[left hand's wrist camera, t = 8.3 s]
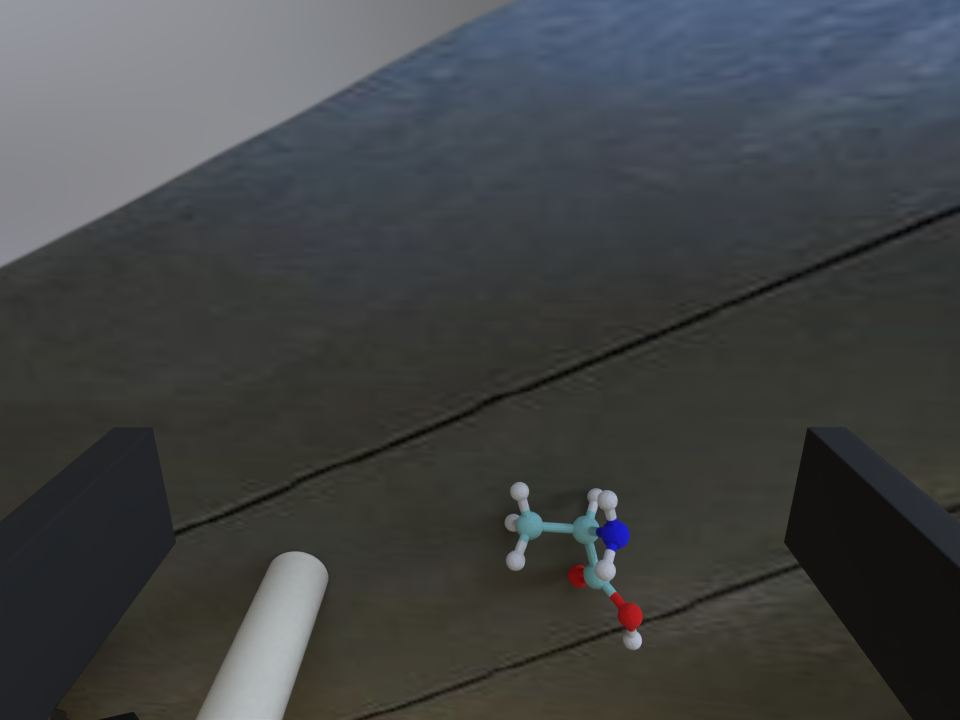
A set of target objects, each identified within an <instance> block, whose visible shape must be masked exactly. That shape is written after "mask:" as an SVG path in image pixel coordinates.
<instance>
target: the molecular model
mask: <svg viewBox="0 0 960 720" xmlns="http://www.w3.org/2000/svg"><path fill="white" fill-rule="evenodd" d="M510 493H511V496H512V497H513V498H514V499H515V500H517V501H518V504H519V508H520V511H521V515H520V516H518V515H516V514H510V515H508V516H507V517H506V519H505V527H506V528H507V529H508V530H509V531H512V532H515V531H517V532H518V534H519V535H520V538H519V540H518V543H517V546H516V548H515V551H512V552H510V553H509V554H508V555H507V558H506V563H507V566H508V567H509V568H510V569H511V570H514V571H518V570H521V569H522V568H523V567H524V564H525V557H524V555H523V554H524V551H525V549H526V546H527V543H528V541H529V540H533V539H536V538H537V537H538V536H540V534H541V533H542V531H546V532H558V533H572V534H573V536H574V538H575V539H576V540H577V541H578V542H580V543H582V544H585V548H586V552H587V556H588V560H589V564H588V565H587V566H586V567H585V566H582V565H574V566H573V567H571V568H570V570H569V572H568V579H569V581H570V583H571V584H572V585H573V586H575V587H578V588H580V587H584V586H586V585H587V584H588V586H590V587H591V588H593V589H603V590H604V591H605V593H606V594H607V595H608V596H609V598H610V599H611V600H612V601H613V603H614V604H615V605H616V606H617V608H618V609H619V610H618V619H619V621H620V623H621V624H622V625H623V626H624V627H626V628H627V632H626V633H625V634H624V636H623V642H624V644H625V646H626V647H627V648H628V649H631V650H636V649H638V648H639V647H640V646H641V643H642V638H641V636H640V634H639V633H638V632H637V631H636V627H638V626H639V625H640V624H641V622H642V618H643V615H642V611H641V609H640V608H639V607H638V606H637V605H635V604H633V603H625V601H624V600H623V599H622V598H621V597H620V595H619V594H618V593H617V592H616V591H615V589H614V588H613V587H612V586H611V585H610V583H609V582H610V580H611V579H613V578H614V576H615V572H616V569H615V566H614V564H613V560H614V556H615V553H616V549H620V548H623V547H624V546H625V545H627V543H628V541H629V537H630V536H629V530H628V528H627V526H626V525H625V524H624V523H622V522H620V521H617V518H616V513H615V509H614V508H615V507H616V505H617V497H616V495H615V494H614V493H613V492H612V491H609V490H604V491H602V490H600V489H598V488H594V489H592V490H590V491H589V492H588V495H587V499H588V501H589V506H588V509H587V512H586V515H585V516H581V517H578V518H577V519H576V520H575V521H574V523H573V524H562V523H549V522H542V519H541V518H540V516H539V515H538V514H536V513H534V512H530V509H529V505H528V502H527V497H528V495H529V489H528V486H527V485H526V484H525V483H522V482H517V483H514V484H513V486H512V487H511V490H510ZM598 506H599V507H600V508H601V509H603V510H604V511H605V515H606V519H607V523H606V524H605V525H604V526H603V528H601V527H599V525H598V523H597V522H596V520H595V519H594V518H595V514H596V511H597V508H598ZM598 537H602V540H603V542H604V543H605V544H606V545H607V547H606V550H605V553H604V557H603V560H600V561H599V562H598V559H597V554H596V550H595V546H594V541H595V540H596V539H597V538H598Z"/></svg>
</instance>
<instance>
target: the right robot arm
mask: <svg viewBox="0 0 960 720" xmlns="http://www.w3.org/2000/svg"><path fill="white" fill-rule="evenodd" d="M47 720H69V719H67V718H66V712H65V711H63V710H59V709H54V711H53V712H52V713H51V715H50V716H49V717H48V719H47ZM100 720H139V719H138V717H137V716H136V714H135V713H134V712H131V713H126V714H122V715H118V716H113V717H109V718H105V719H100Z"/></svg>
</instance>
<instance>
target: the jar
mask: <svg viewBox="0 0 960 720" xmlns="http://www.w3.org/2000/svg"><path fill="white" fill-rule="evenodd" d="M327 585H328V573H327V570H326V568H325V566H324V565H323V564H322V562H321V561H320V560H318V559H317V558H316V557H314V556H312V555H310V554H307V553H304V552H298V551H293V552H286V553H283V554H281V555H279V556H277V557H276V558H275V559H274V560H273V561H272V562H271V563H270V565H269V567H268V569H267V571H266V573H265V575H264V577H263V579H262V581H261V584H260V586H259V588H258V590H257V592H256V594H255V596H254V598H253V600H252V602H251V604H250V606H249V608H248V611H247V613H246V615H245V617H244V619H243V621H242V623H241V625H240V627H239V629H238V631H237V633H236V635H235V638H234V640H233V642H232V644H231V646H230V648H229V650H228V652H227V654H226V656H225V658H224V660H223V663H222V665H221V667H220V669H219V671H218V673H217V675H216V677H215V679H214V681H213V683H212V685H211V687H210V690H209V692H208V694H207V696H206V698H205V700H204V702H203V704H202V706H201V708H200V710H199V712H198V714H197V717H196V719H195V720H283V717H284V714H285V711H286V708H287V705H288V702H289V699H290V696H291V693H292V690H293V687H294V684H295V681H296V678H297V675H298V672H299V669H300V666H301V663H302V660H303V657H304V654H305V651H306V648H307V645H308V642H309V639H310V636H311V633H312V630H313V627H314V624H315V621H316V618H317V615H318V612H319V609H320V606H321V603H322V600H323V597H324V594H325V591H326V588H327Z"/></svg>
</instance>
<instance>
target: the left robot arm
mask: <svg viewBox="0 0 960 720" xmlns="http://www.w3.org/2000/svg"><path fill="white" fill-rule="evenodd" d="M175 543H176V540H175V536H174V531H173V526H172V521H171V516H170V511H169V506H168V501H167V496H166V491H165V487H164V482H163V477H162V472H161V467H160V462H159V457H158V452H157V447H156V443H155V438H154V433H153V428H113V429H112V430H111V431H109V432H108V433H107V434H106V435H105V436H103V437H102V438H101V439H100V440H99V441H97V442H96V443H95V444H94V445H93V446H91V447H90V448H89V449H88V450H87V451H85V452H84V453H83V454H82V455H81V456H79V457H78V458H77V459H76V460H75V461H73V462H72V463H71V464H70V465H68V466H67V467H66V468H65V469H64V470H62V471H61V472H60V473H59V474H58V475H56V476H55V477H54V478H53V479H52V480H50V481H49V482H48V483H47V484H46V485H44V486H43V487H42V488H41V489H40V490H38V491H37V492H36V493H35V494H33V495H32V496H31V497H30V498H29V499H27V500H26V501H25V502H24V503H23V504H21V505H20V506H19V507H18V508H17V509H15V510H14V511H13V512H12V513H11V514H9V515H8V516H7V517H6V518H5V519H3V520H2V521H1V522H0V720H47V719H48V717H49V716H50V715H51V713H52V712H53V711H54V709H55V708H56V706H57V705H58V704H59V702H60V701H61V700H62V698H63V697H64V695H65V694H66V693H67V691H68V690H69V689H70V687H71V686H72V684H73V683H74V682H75V680H76V679H77V678H78V676H79V675H80V673H81V672H82V671H83V669H84V668H85V667H86V665H87V664H88V662H89V661H90V660H91V658H92V657H93V656H94V654H95V653H96V651H97V650H98V649H99V647H100V646H101V645H102V643H103V642H104V640H105V639H106V638H107V636H108V635H109V634H110V632H111V631H112V629H113V628H114V627H115V625H116V624H117V623H118V621H119V620H120V618H121V617H122V616H123V614H124V613H125V612H126V610H127V609H128V607H129V606H130V605H131V603H132V602H133V601H134V599H135V598H136V596H137V595H138V594H139V592H140V591H141V590H142V588H143V587H144V585H145V584H146V583H147V581H148V580H149V579H150V577H151V576H152V574H153V573H154V572H155V570H156V569H157V568H158V566H159V565H160V564H161V562H162V561H163V559H164V558H165V557H166V555H167V554H168V553H169V551H170V550H171V548H172V547H173V546H174V544H175ZM784 543H785V544H786V546H787V547H788V548H789V550H790V551H791V553H792V554H793V555H794V557H795V558H796V559H797V561H798V562H799V564H800V565H801V566H802V568H803V569H804V570H805V572H806V573H807V574H808V576H809V577H810V579H811V580H812V581H813V583H814V584H815V585H816V587H817V588H818V590H819V591H820V592H821V594H822V595H823V596H824V598H825V599H826V601H827V602H828V603H829V605H830V606H831V607H832V609H833V610H834V612H835V613H836V614H837V616H838V617H839V618H840V620H841V621H842V623H843V624H844V625H845V627H846V628H847V629H848V631H849V632H850V634H851V635H852V636H853V638H854V639H855V640H856V642H857V643H858V645H859V646H860V647H861V649H862V650H863V651H864V653H865V654H866V656H867V657H868V658H869V660H870V661H871V662H872V664H873V665H874V667H875V668H876V669H877V671H878V672H879V673H880V675H881V676H882V678H883V679H884V680H885V682H886V683H887V684H888V686H889V687H890V689H891V690H892V691H893V693H894V694H895V695H896V697H897V698H898V700H899V701H900V702H901V704H902V705H903V706H904V708H905V709H906V711H907V712H908V713H909V715H910V716H911V717H912V719H913V720H960V522H959V521H958V520H957V519H955V518H954V517H953V516H952V515H951V514H949V513H948V512H947V511H946V510H945V509H943V508H942V507H941V506H940V505H939V504H937V503H936V502H935V501H934V500H933V499H931V498H930V497H929V496H928V495H927V494H925V493H924V492H923V491H922V490H920V489H919V488H918V487H917V486H916V485H914V484H913V483H912V482H911V481H910V480H908V479H907V478H906V477H905V476H904V475H902V474H901V473H900V472H899V471H898V470H896V469H895V468H894V467H893V466H892V465H890V464H889V463H888V462H887V461H885V460H884V459H883V458H882V457H881V456H879V455H878V454H877V453H876V452H875V451H873V450H872V449H871V448H870V447H869V446H867V445H866V444H865V443H864V442H863V441H861V440H860V439H859V438H858V437H857V436H855V435H854V434H853V433H852V432H851V431H849V430H848V429H847V428H807V433H806V438H805V443H804V447H803V452H802V457H801V462H800V467H799V472H798V477H797V482H796V487H795V491H794V496H793V501H792V506H791V511H790V516H789V521H788V526H787V531H786V536H785V540H784Z"/></svg>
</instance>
